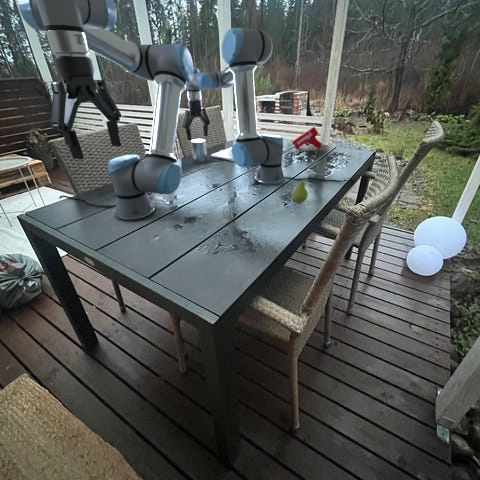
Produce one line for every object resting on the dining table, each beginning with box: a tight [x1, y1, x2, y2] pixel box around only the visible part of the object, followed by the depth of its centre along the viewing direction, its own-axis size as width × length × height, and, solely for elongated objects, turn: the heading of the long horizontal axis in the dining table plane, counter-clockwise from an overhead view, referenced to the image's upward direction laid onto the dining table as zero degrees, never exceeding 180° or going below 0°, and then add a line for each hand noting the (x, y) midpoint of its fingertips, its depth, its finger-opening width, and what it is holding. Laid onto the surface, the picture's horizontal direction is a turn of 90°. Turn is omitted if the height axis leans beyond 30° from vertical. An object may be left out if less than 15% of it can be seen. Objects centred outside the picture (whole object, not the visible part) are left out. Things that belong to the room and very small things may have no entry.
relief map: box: [210, 147, 255, 167], centre depth 182 cm, size 27×35×5 cm
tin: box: [190, 138, 208, 164], centre depth 172 cm, size 9×9×13 cm
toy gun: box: [291, 126, 323, 149], centre depth 197 cm, size 18×4×15 cm
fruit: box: [291, 174, 311, 204], centre depth 118 cm, size 7×8×12 cm
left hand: (99, 151), depth 73 cm, fingers open, 13 cm apart
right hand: (197, 138), depth 167 cm, fingers open, 13 cm apart
